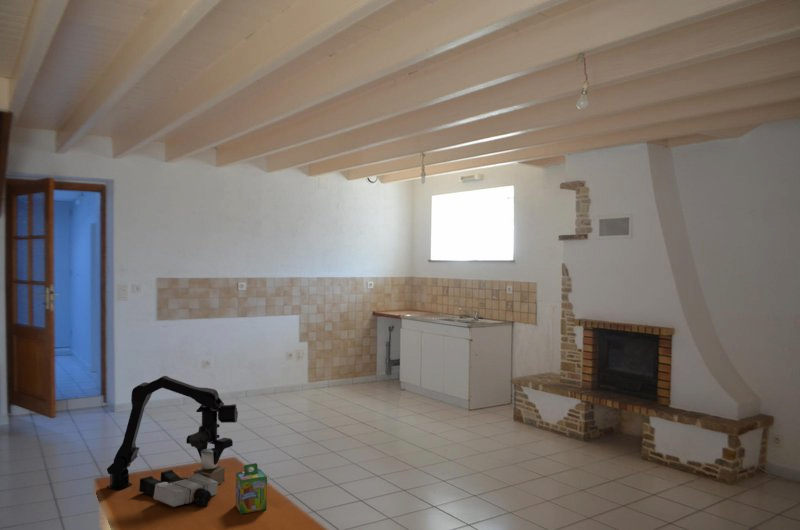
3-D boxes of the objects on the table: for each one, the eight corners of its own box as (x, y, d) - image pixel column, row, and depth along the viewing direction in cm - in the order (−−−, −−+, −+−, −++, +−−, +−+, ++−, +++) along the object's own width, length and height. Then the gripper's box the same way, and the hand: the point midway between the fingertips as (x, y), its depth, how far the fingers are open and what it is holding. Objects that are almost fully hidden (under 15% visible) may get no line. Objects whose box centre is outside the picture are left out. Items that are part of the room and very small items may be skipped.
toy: (131, 495, 211) (182, 516, 195) (132, 476, 212) (184, 495, 195) (177, 482, 227) (228, 501, 211) (178, 464, 228) (229, 481, 211)
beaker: (197, 467, 222) (197, 451, 222) (209, 462, 228) (209, 447, 228) (209, 470, 219) (209, 454, 219) (221, 465, 225) (221, 449, 225)
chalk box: (240, 515, 196) (240, 471, 196) (234, 505, 204) (235, 463, 204) (267, 509, 200) (267, 466, 200) (261, 500, 208) (261, 459, 208)
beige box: (193, 486, 221) (193, 471, 221) (207, 479, 229) (207, 464, 229) (210, 489, 218) (210, 473, 218) (224, 482, 226) (224, 466, 226)
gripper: (175, 424, 220) (175, 465, 220) (212, 431, 212) (212, 473, 212) (197, 418, 231) (197, 457, 230) (233, 423, 222) (233, 464, 222)
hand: (209, 463), depth 224 cm, fingers closed on beaker, 6 cm apart
